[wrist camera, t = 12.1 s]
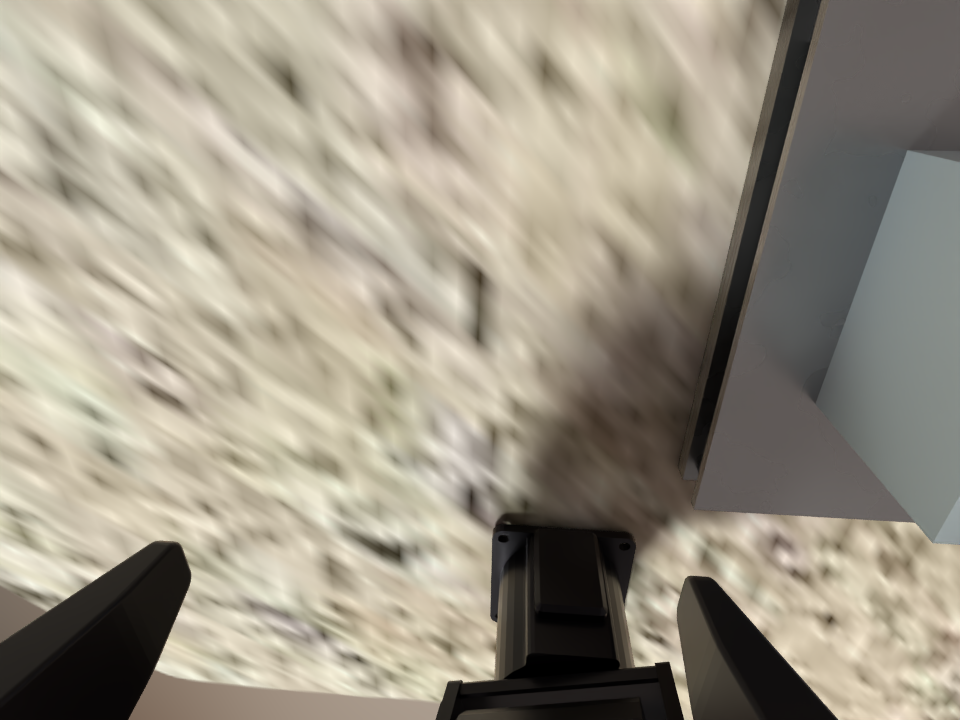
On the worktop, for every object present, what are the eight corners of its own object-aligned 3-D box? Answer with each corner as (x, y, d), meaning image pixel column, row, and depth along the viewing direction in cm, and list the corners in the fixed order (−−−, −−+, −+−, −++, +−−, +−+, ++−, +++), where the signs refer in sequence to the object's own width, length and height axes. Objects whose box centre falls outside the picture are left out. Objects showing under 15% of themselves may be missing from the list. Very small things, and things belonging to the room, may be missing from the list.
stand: (951, 481, 22) (998, 527, 20) (678, 467, 23) (693, 509, 21) (1258, -71, 14) (1398, -97, 11) (803, -68, 14) (853, -92, 12)
